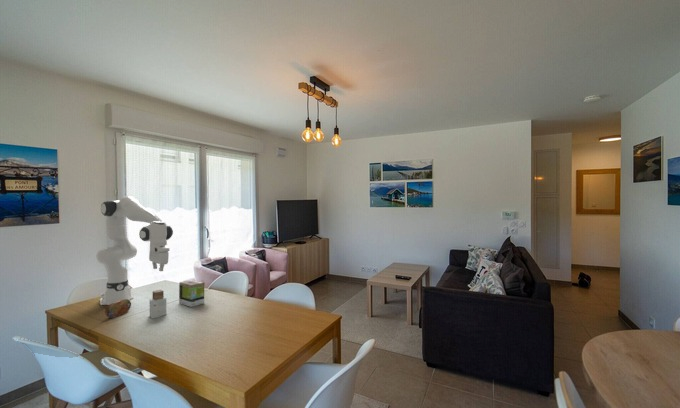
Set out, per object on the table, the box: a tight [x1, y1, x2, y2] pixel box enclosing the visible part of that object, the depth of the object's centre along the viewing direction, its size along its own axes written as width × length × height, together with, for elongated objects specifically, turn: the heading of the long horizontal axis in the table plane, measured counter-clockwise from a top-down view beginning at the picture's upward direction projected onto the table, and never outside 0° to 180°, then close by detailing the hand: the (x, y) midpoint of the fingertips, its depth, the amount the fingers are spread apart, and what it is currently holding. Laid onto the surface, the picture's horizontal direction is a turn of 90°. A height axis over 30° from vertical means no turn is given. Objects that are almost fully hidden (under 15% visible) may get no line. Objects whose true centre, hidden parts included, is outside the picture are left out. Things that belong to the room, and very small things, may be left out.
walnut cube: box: [152, 289, 165, 300], centre depth 176 cm, size 4×4×4 cm
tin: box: [104, 299, 132, 319], centre depth 177 cm, size 15×3×8 cm, turn 168°
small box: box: [149, 296, 167, 319], centre depth 176 cm, size 8×6×10 cm
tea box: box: [178, 279, 205, 308], centre depth 198 cm, size 15×10×15 cm, turn 58°
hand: (158, 269), depth 176 cm, fingers open, 8 cm apart
